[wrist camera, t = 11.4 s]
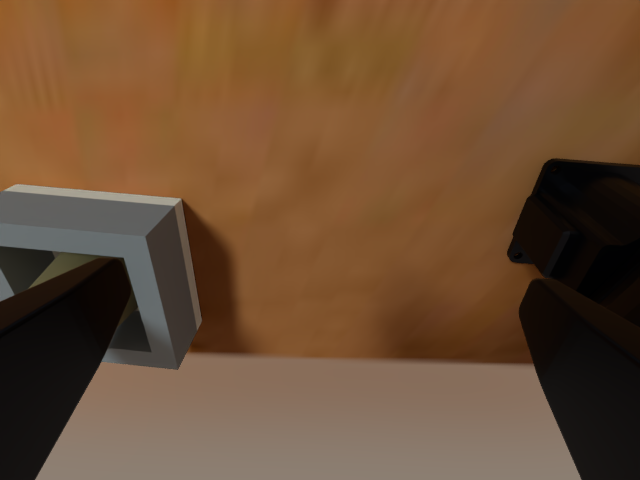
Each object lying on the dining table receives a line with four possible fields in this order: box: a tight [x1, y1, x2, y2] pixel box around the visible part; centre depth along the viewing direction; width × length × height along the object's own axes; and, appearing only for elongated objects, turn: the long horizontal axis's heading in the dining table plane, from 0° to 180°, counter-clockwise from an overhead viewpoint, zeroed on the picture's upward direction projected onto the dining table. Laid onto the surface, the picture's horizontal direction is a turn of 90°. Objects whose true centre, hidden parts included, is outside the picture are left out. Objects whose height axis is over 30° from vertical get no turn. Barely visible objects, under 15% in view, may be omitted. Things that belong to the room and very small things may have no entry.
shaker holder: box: [0, 184, 202, 370], centre depth 23 cm, size 11×11×4 cm
